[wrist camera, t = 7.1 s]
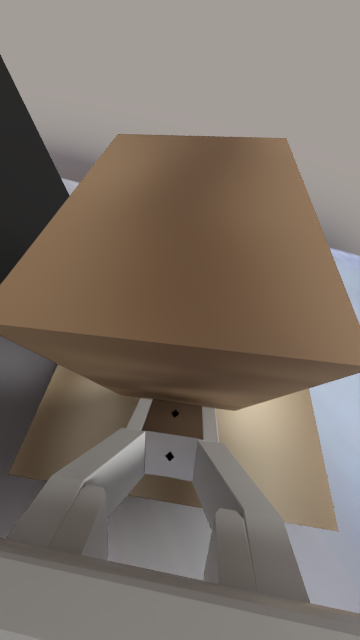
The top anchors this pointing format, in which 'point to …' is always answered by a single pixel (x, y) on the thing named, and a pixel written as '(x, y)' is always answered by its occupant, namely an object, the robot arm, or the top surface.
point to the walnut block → (187, 276)
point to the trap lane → (233, 430)
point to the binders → (23, 178)
